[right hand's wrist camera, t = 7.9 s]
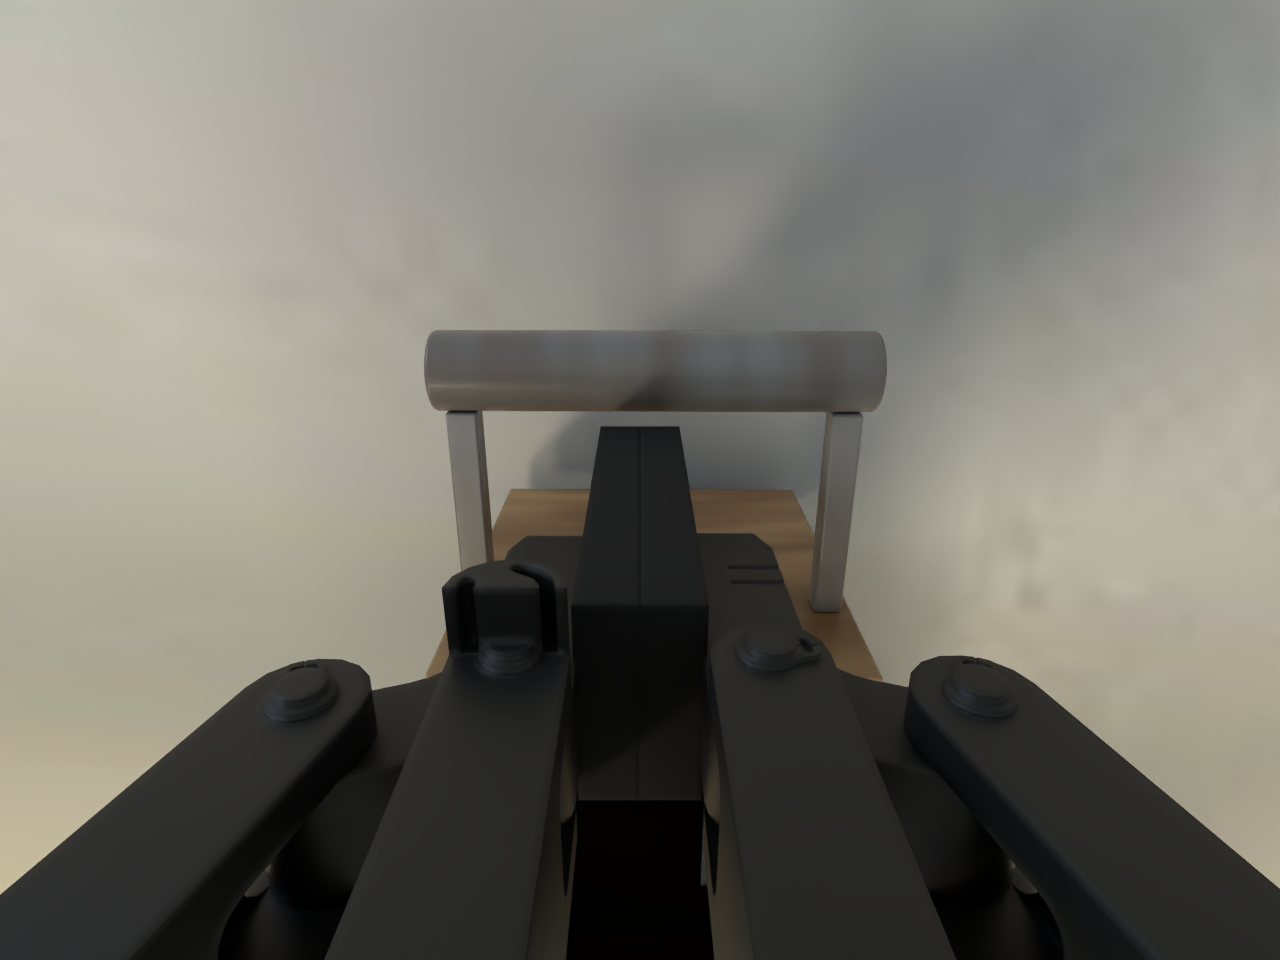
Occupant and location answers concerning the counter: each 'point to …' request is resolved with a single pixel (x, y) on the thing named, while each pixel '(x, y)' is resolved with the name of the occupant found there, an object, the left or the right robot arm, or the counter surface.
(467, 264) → the counter surface
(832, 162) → the counter surface
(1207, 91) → the counter surface
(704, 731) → the right robot arm
